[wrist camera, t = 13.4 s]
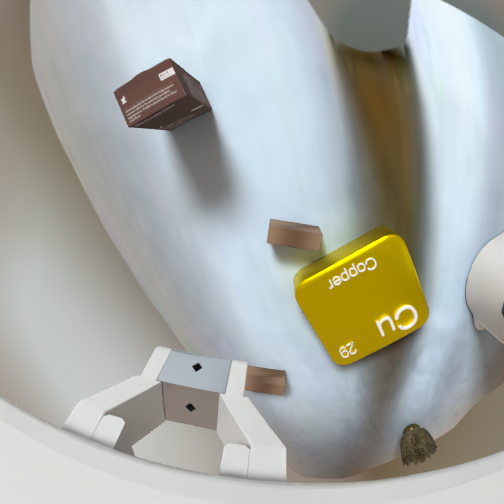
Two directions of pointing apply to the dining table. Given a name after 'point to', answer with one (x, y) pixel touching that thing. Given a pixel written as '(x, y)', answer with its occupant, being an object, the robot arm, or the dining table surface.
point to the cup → (416, 444)
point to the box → (161, 98)
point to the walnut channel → (291, 237)
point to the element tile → (362, 295)
